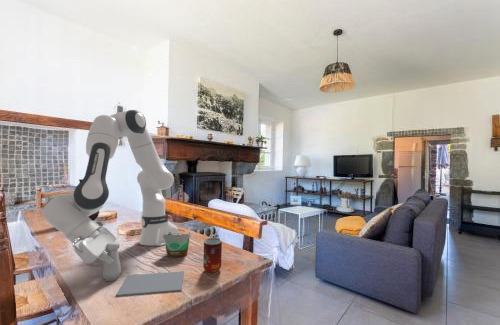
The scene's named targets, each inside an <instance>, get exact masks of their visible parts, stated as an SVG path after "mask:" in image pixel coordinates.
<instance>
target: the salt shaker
mask: <svg viewBox="0 0 500 325" xmlns="http://www.w3.org/2000/svg"><path fill="white" fill-rule="evenodd" d="M120 246H121V245H120V243H119V242H118V241H115V242H110V243H108V244H107V245H106V248H107V249H106V250H108V252H106V254H107V255H108V256H110V257H113V258H114V261H113V262H112V263H111V264H108V263H107V262H106V261H104V262H105V263H104V267H103V272H102V276H103V278H104V281H105V282H113V281H116V280H117V279H119V277H120V275H121V272H122V267H121V261H120V256H119V251H118V250H119V248H120Z"/></svg>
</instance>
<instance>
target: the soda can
mask: <svg viewBox="0 0 500 325" xmlns="http://www.w3.org/2000/svg"><path fill="white" fill-rule="evenodd" d="M222 245H223V241H222V240H221V239H220V238H218V237H209V238H206V239H205V240H204V242H203V269H204V272H205V273H206V274H209V275H212V274H213V275H214V274H218V273H219V272H220V269H221V268H222V256H223V255H222V253H223V252H222V249H223V248H222Z"/></svg>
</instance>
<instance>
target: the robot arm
mask: <svg viewBox="0 0 500 325" xmlns="http://www.w3.org/2000/svg"><path fill="white" fill-rule="evenodd" d="M125 137H126V138H127V141H128V144H129V147H130V150H131V153H132V155H133V158H134V159H135V162H136V164H137V165H138V166H139V167H140V169H142V170H141V171H140V172H138V174H137V176H136V181H137V183H138V184H139V188H140V191H141V196H142V203H143V204H142V211H143V212H142V216H141V233H140V238H139V241H138V244H139V245H141V246H149V247H150V246H151V247H153V246H158V247H159V246H166V243H165V239H164V235H165V234H166V235H173V234H180V233H179V228H178V227H177V226H176V225H175V224H173V223H172V222H171V221H169V220H172V217H173V216H172V215H170V214H168V215H167V214H166V199H165V197H164V196H163V191H164V190H168V189H170V188H171V187H172V186H173V185H174V182H175V177H174V174H173V173H172V172H171V171H170V170H169V169H167V167H166V165H165V164H164V162H163V161H162V159H161V158H160V155H159V154H158V151H157V148H156V146H155V144H154V141H153V138H152V136H151V134H150V132H149V130H148V128H147V120H146V117H145V115H144V114H143V113H142V112H141V111H139V110H138V109H129V110H126V111H120V112H116V113H115V114H111V115H107V114H101V115H98V116H96V117H95V118H94V120H93V122H92V123H91V125H90V128H89V130H88V134H87V137H86V140H85V141H86V143H85V144H86V145H85V153H86V154H87V156H88V160H87V161H88V162H87V166H86V171H85V174H84V177H83V178H82V179H83V180H82V181H81V182H80V181H79V183H78V184H77V186H76V187H75V189H74V191H73V192H72V193H71V192H70V193H66V194H57V195H54V196H53V197H51V198H50V199H49V200H48V201H47V202H46V203H44V206H43V207H42V211H41V213H42V216H43V218H44V219H45V220H46V221H47V222H48V223H49V224H50V225H51V226H52V227H53V228H55V229H56V230H57V231H60V232H61V233H62V234H63V235H64V237H65V238H66V239H67V240H68V241H70V242H71V243H72V247H73V250H74V253H75V254H76V255H77V256H78V257H79V258H80V259H81V260H82V261H83V262H84V263H85V264H87V265H91V264H92V263H94V262H95V261H96V260H97V259H99V260H100V261H103V262H107V263H108V264H111V263H112V262H113V261H114V258H113V257H110V256H108V255H107V253H108V250H106V249H107V248H106V245H107V244H108V243H110V242H117V238H116V236H115V234H113V233H112V232H111V231H110V230H109V229H108V228H106V227H105V226H104V223H103V222H102V221H98V220H97V221H95V220H94V221H92V220H91V219H90V218H89V216H91V215H92V214H94V213H96V212H98V211H99V212H100V210H102V208H103V207H104V205H105V203H106V202H107V201H108V198H109V195H110V194H109V191H110V190H109V187H108V184H107V180H106V177H107V172H108V168H109V161H110V160H111V159H112V158H113V157H114V155H115V153H116V150H117V148H118V144H119V138H125Z"/></svg>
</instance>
